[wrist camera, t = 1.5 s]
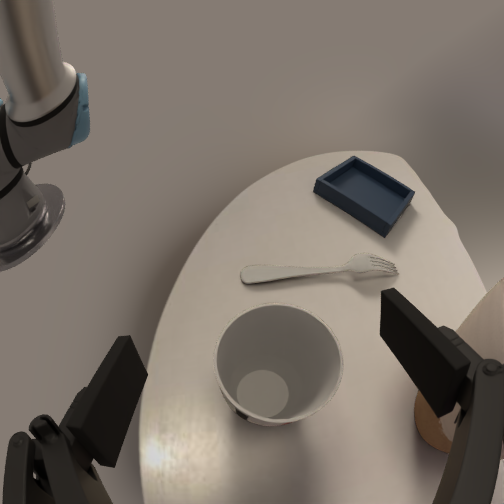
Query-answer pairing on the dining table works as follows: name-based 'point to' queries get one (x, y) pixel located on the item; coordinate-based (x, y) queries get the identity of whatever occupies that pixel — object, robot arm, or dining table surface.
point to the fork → (313, 269)
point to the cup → (277, 364)
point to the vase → (486, 345)
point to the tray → (365, 194)
